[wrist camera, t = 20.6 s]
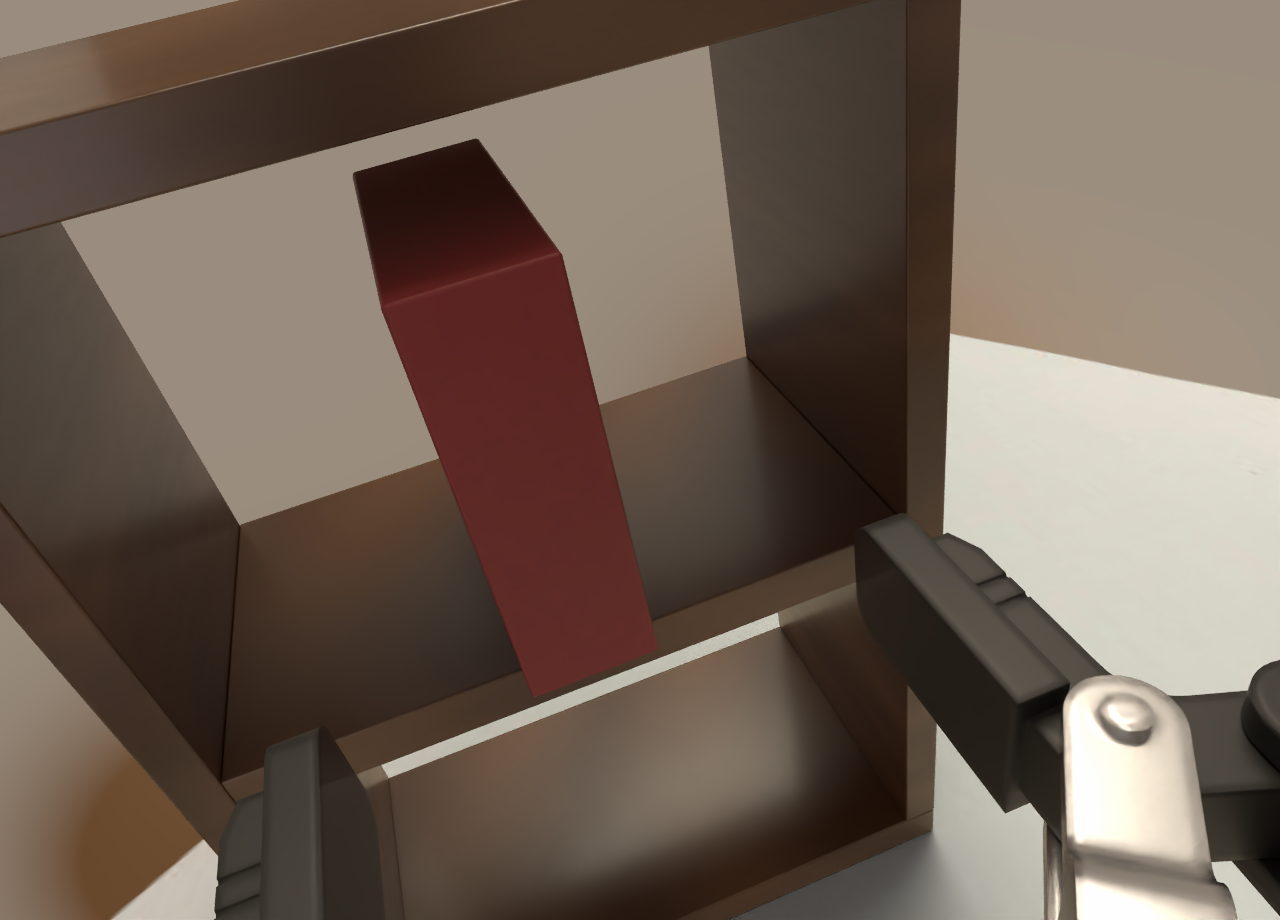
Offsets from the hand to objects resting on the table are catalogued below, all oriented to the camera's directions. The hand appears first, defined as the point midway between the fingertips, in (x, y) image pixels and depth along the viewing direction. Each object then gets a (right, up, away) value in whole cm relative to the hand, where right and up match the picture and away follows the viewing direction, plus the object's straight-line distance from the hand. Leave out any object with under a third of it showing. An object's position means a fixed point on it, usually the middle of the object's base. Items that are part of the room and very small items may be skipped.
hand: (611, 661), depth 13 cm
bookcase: (0, -12, +24) cm, 27 cm away
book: (-2, 0, +13) cm, 13 cm away
